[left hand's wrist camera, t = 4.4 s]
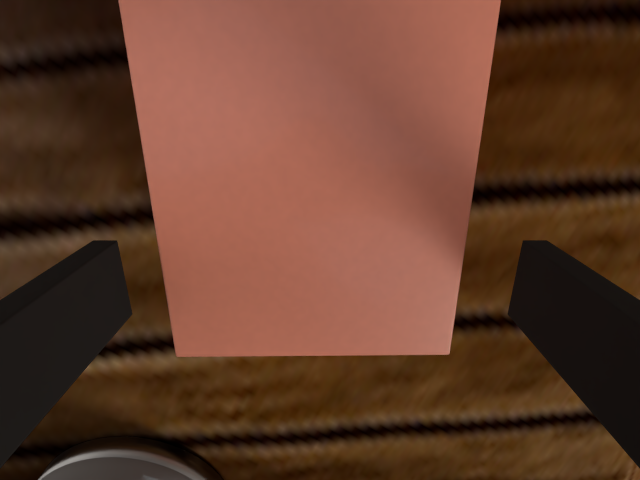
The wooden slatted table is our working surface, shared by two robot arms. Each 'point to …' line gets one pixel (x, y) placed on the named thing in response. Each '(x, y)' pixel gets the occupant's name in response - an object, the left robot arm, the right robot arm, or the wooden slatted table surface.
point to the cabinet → (310, 167)
